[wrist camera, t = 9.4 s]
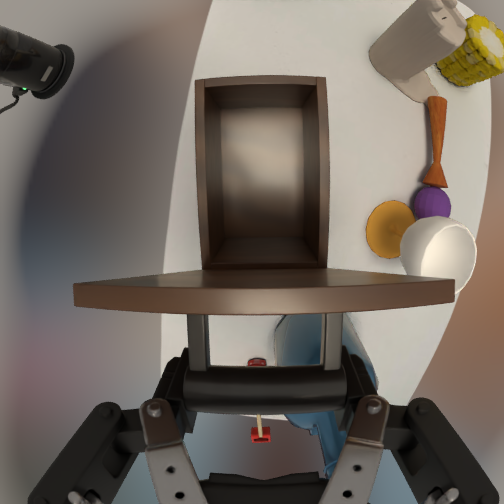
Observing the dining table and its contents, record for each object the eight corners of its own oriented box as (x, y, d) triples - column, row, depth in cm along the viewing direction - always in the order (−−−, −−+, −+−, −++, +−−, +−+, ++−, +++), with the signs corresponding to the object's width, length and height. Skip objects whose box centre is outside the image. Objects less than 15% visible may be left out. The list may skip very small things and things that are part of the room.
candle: (428, 117, 34) (516, 100, 15) (361, 59, 32) (423, -3, 13) (444, 89, 32) (526, 65, 13) (380, 33, 30) (441, -27, 11)
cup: (354, 228, 40) (402, 263, 24) (395, 188, 38) (459, 201, 22) (387, 269, 41) (438, 317, 26) (424, 231, 39) (487, 262, 24)
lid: (72, 283, 8) (92, 419, 8) (455, 279, 8) (436, 417, 7) (201, 269, 29) (202, 320, 29) (327, 268, 28) (327, 318, 28)
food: (469, 91, 33) (427, 79, 34) (464, 36, 27) (421, 20, 28) (523, 98, 19) (480, 78, 20) (515, 28, 14) (469, 2, 15)
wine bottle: (265, 309, 44) (265, 490, 15) (347, 290, 42) (436, 445, 14) (281, 373, 47) (290, 529, 19) (353, 357, 46) (407, 500, 17)
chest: (214, 104, 35) (194, 79, 24) (307, 103, 35) (325, 77, 23) (219, 243, 41) (202, 271, 29) (309, 241, 40) (326, 270, 29)
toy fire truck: (266, 356, 46) (266, 395, 37) (270, 408, 50) (271, 444, 41) (246, 357, 47) (243, 396, 37) (253, 408, 50) (252, 445, 41)
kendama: (461, 104, 29) (454, 232, 33) (437, 108, 34) (429, 225, 39) (437, 89, 28) (430, 227, 32) (412, 96, 33) (404, 220, 38)
